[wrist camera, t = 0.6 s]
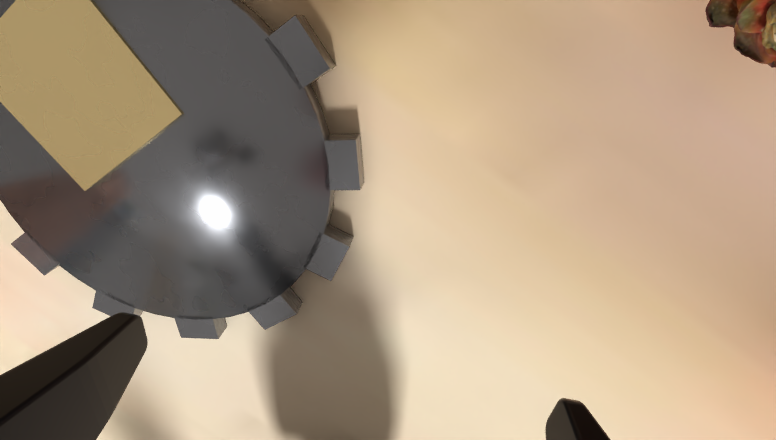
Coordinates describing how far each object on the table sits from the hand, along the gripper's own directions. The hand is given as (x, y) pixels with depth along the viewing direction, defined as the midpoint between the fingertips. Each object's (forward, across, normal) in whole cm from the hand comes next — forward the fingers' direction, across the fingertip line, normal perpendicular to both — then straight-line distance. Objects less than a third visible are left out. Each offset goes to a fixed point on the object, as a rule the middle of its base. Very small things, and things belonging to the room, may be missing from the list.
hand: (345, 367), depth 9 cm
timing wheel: (+14, +13, +4) cm, 20 cm away
